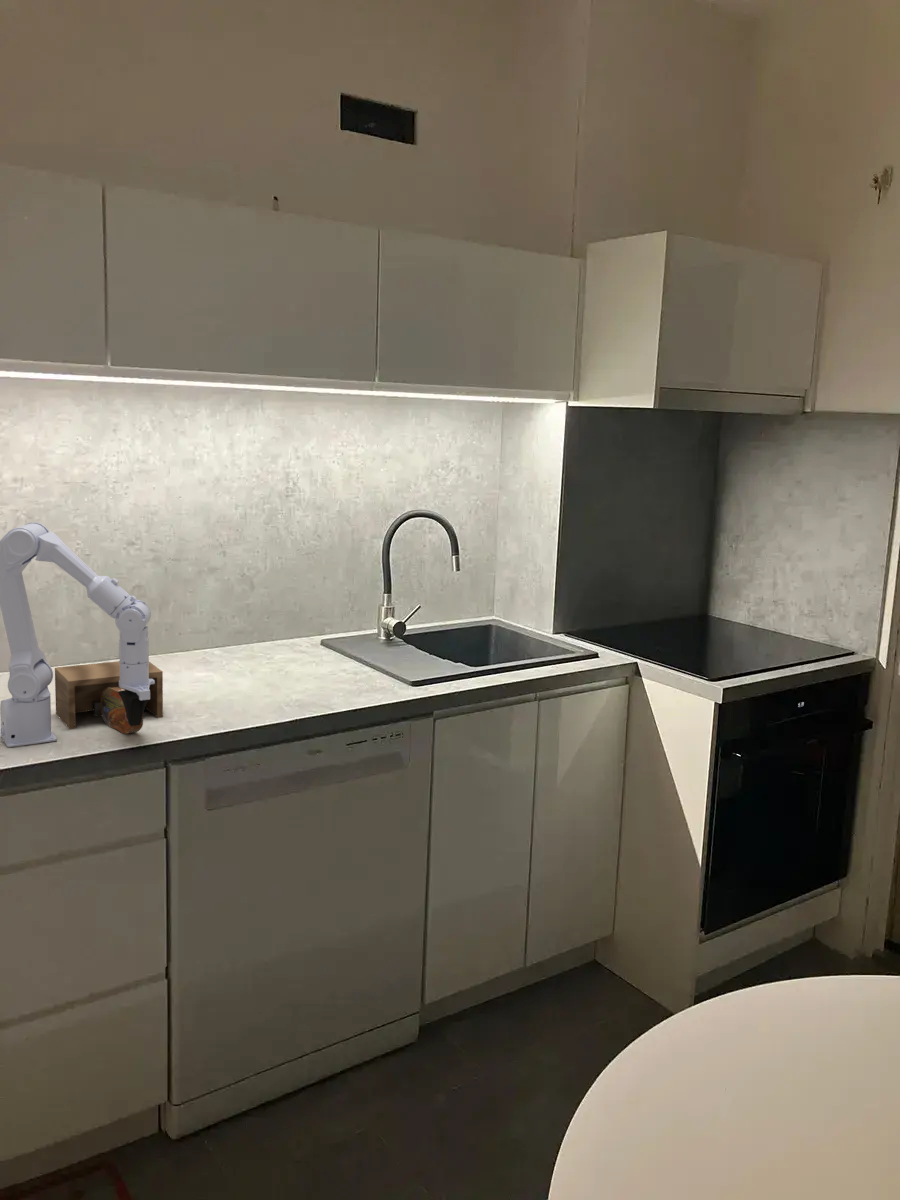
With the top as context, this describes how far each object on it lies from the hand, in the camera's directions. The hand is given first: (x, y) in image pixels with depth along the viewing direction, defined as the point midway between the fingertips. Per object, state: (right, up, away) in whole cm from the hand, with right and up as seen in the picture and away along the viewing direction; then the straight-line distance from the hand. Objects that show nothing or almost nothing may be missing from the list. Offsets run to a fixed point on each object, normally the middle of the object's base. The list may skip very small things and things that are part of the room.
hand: (134, 724), depth 208 cm
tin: (-5, -2, +8) cm, 9 cm away
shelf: (-11, 0, +16) cm, 19 cm away
